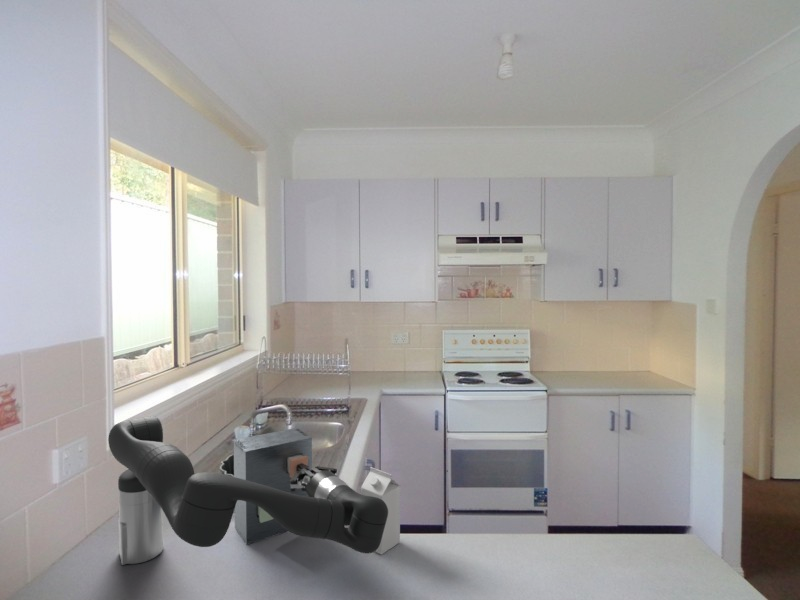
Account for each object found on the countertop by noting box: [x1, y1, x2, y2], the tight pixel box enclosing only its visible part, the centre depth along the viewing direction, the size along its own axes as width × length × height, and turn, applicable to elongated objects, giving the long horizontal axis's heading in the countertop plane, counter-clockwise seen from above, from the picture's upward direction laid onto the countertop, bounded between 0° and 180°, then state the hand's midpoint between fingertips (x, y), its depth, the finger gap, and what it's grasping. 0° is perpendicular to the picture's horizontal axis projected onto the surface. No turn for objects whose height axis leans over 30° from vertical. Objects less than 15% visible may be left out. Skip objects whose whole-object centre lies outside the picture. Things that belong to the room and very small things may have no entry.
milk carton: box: [360, 466, 401, 555], centre depth 120 cm, size 7×7×19 cm
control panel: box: [233, 427, 313, 545], centre depth 128 cm, size 18×10×24 cm, turn 126°
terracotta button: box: [286, 454, 308, 478], centre depth 127 cm, size 5×9×5 cm, turn 36°
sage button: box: [257, 506, 274, 523], centre depth 123 cm, size 5×9×5 cm, turn 35°
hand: (299, 467), depth 123 cm, fingers closed
